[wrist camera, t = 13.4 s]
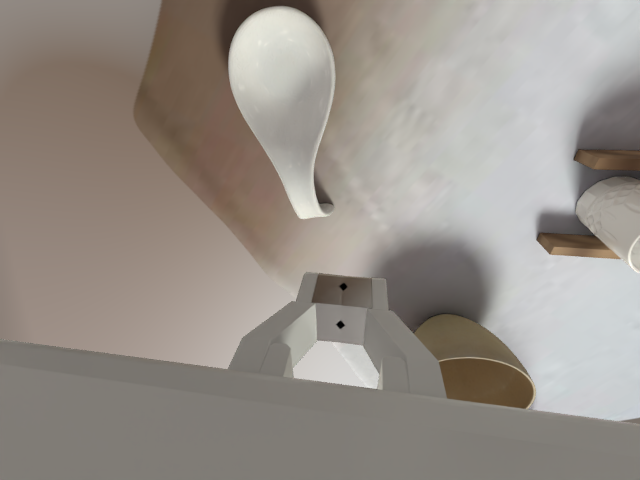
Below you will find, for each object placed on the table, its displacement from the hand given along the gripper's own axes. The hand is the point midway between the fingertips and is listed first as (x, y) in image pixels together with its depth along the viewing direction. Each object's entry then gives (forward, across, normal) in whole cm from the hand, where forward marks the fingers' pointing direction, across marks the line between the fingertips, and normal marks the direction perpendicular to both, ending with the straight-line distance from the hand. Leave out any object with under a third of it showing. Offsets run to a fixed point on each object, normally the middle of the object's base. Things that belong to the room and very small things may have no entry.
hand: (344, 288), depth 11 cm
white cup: (+29, -31, +8) cm, 43 cm away
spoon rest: (+30, +8, 0) cm, 31 cm away
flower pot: (+29, -17, +34) cm, 48 cm away
